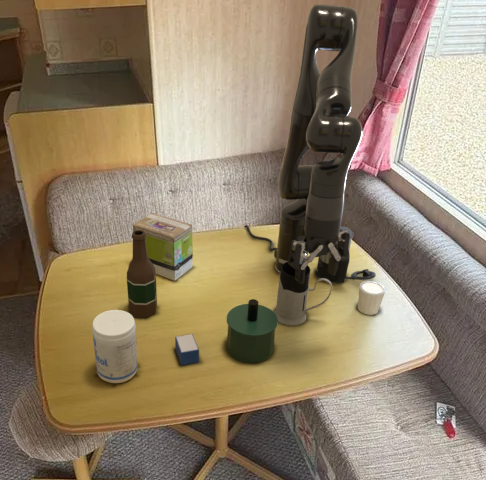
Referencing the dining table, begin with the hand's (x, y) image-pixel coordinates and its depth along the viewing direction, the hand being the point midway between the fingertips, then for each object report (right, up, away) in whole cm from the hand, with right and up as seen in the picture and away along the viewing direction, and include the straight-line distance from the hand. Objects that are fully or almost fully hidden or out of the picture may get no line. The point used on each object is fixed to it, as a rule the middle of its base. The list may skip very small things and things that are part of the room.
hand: (315, 277), depth 125 cm
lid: (-14, -10, +9) cm, 19 cm away
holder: (0, -11, +24) cm, 27 cm away
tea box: (-38, +3, +44) cm, 58 cm away
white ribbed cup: (+20, -9, +28) cm, 36 cm away
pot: (-14, -17, +14) cm, 26 cm away
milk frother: (+16, 0, +41) cm, 45 cm away
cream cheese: (-29, -19, +11) cm, 37 cm away
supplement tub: (-46, -22, +6) cm, 51 cm away
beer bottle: (-42, -9, +26) cm, 50 cm away
